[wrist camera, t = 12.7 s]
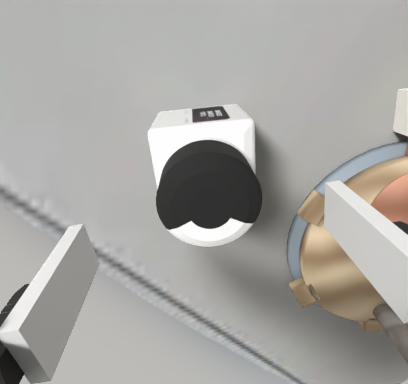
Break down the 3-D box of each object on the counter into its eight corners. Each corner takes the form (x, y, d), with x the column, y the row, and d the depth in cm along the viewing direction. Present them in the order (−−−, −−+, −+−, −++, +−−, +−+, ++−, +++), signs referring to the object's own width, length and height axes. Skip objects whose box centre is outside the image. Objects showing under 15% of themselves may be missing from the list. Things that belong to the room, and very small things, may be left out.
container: (157, 111, 27) (132, 154, 15) (238, 102, 27) (276, 139, 15) (169, 185, 30) (156, 267, 19) (241, 178, 30) (274, 255, 19)
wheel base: (280, 109, 27) (290, 115, 25) (535, 65, 27) (574, 66, 24) (289, 321, 40) (296, 340, 37) (463, 295, 39) (483, 312, 37)
